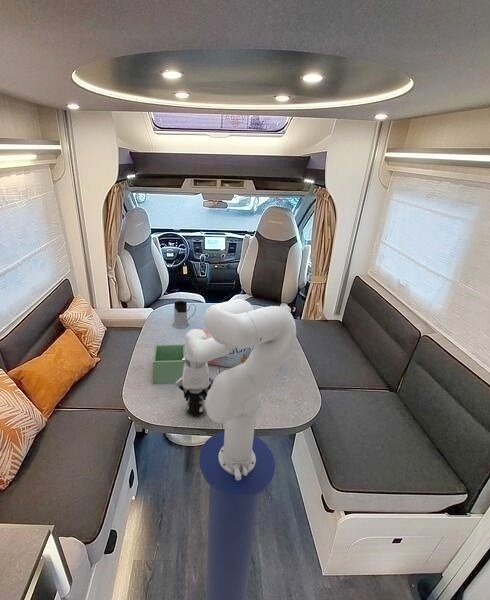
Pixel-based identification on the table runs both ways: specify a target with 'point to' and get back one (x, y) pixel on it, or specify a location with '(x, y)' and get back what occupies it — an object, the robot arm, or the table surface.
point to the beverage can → (195, 402)
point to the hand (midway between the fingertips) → (195, 397)
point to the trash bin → (168, 363)
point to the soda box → (231, 356)
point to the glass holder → (181, 314)
